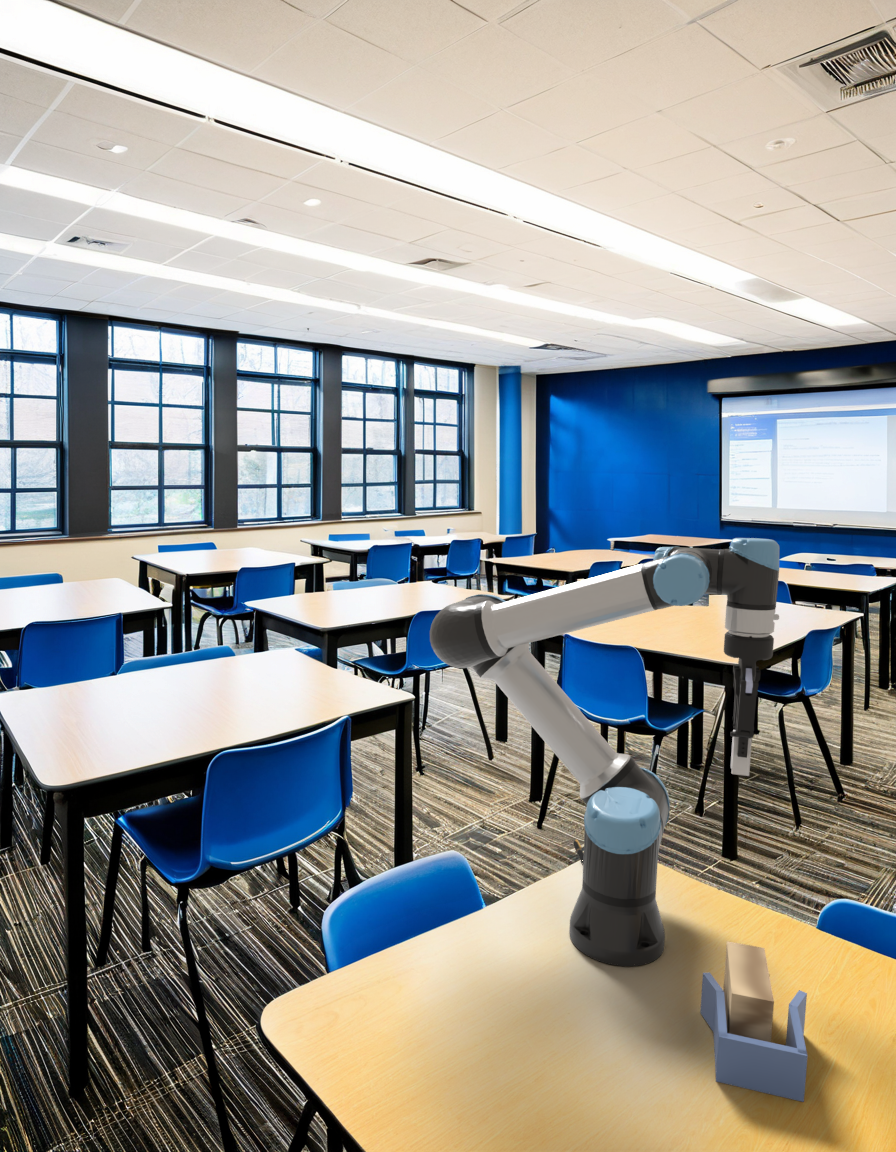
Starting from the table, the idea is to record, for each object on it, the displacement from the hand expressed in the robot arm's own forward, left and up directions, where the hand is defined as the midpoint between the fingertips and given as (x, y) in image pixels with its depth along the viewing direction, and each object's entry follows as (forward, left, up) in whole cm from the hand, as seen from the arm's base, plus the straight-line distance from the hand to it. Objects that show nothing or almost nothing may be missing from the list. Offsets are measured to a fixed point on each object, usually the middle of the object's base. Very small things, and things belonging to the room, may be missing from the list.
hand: (739, 771), depth 128 cm
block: (+1, -28, -27) cm, 39 cm away
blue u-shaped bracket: (+2, -32, -26) cm, 42 cm away
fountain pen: (-27, +13, -27) cm, 40 cm away
